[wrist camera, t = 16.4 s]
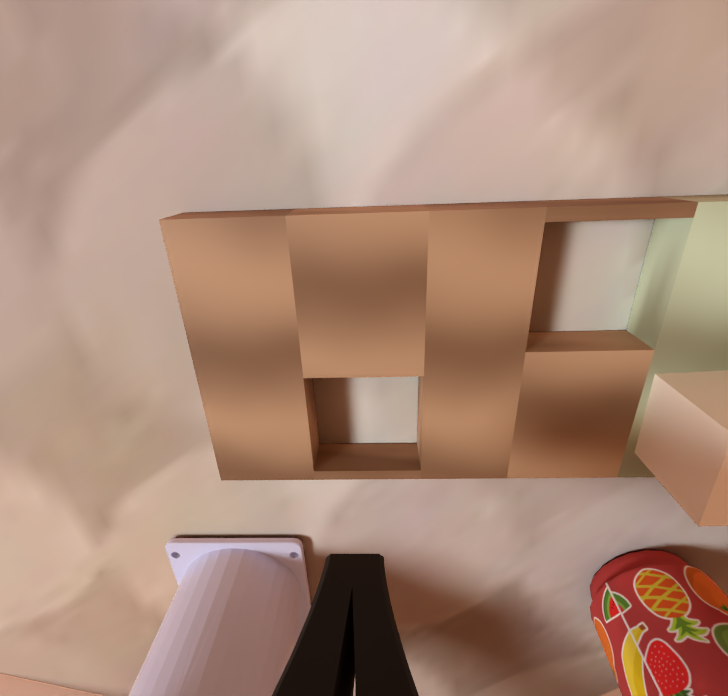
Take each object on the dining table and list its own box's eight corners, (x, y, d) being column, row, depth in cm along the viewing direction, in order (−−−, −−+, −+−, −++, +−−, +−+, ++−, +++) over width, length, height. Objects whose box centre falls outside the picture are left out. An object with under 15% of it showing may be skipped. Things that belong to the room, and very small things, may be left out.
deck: (718, 447, 20) (803, 520, 16) (234, 452, 21) (201, 522, 17) (825, 191, 15) (988, 203, 11) (183, 212, 16) (118, 231, 12)
